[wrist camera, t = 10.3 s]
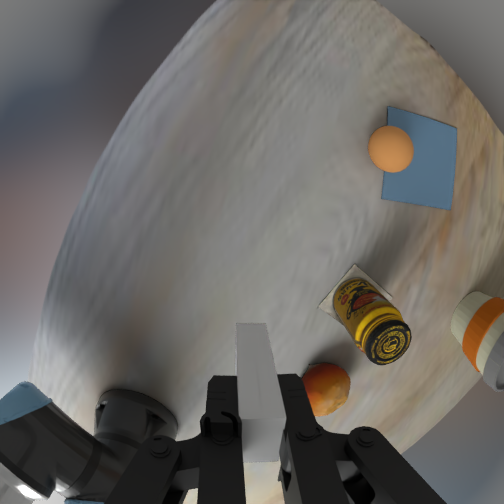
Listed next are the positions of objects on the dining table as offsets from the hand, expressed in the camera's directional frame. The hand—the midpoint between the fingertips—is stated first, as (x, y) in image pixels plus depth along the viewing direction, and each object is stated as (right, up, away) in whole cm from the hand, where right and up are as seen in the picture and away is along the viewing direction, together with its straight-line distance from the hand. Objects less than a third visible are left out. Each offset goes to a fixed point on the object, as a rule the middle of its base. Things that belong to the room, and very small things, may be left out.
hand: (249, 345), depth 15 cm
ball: (+16, +17, +14) cm, 27 cm away
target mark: (+23, +17, +17) cm, 33 cm away
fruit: (+10, -14, +26) cm, 32 cm away
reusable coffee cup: (+38, -6, +25) cm, 46 cm away
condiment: (+14, -2, +23) cm, 27 cm away
